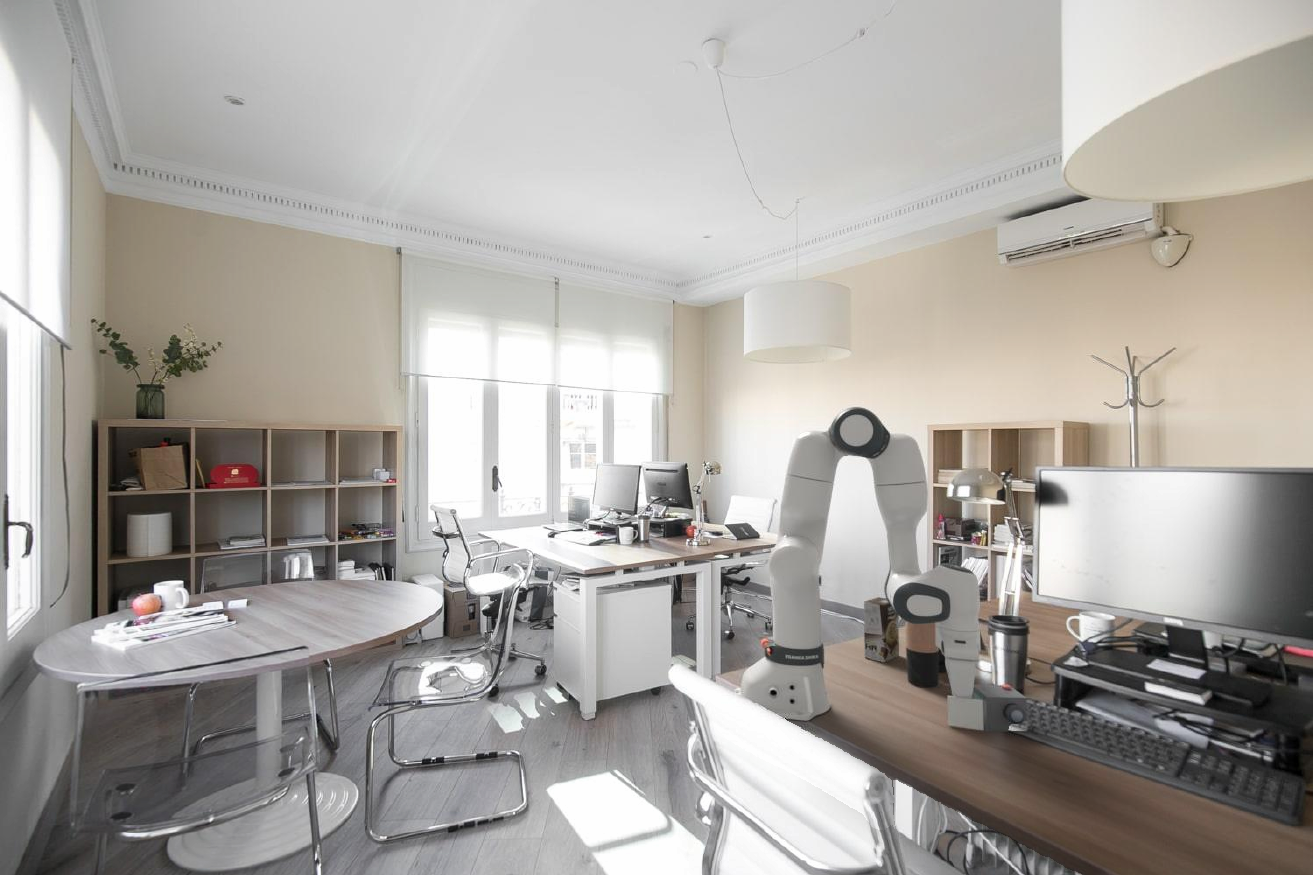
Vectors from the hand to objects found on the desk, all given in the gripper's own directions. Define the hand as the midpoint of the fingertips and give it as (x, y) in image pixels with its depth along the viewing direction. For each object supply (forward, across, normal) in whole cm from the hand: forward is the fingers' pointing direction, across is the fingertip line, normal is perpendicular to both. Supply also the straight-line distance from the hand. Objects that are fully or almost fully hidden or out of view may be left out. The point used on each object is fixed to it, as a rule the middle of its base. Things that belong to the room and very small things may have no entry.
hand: (958, 703), depth 131 cm
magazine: (+4, -32, -3) cm, 32 cm away
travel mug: (+4, -22, -6) cm, 23 cm away
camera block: (+3, -1, +8) cm, 9 cm away
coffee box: (+4, -39, -16) cm, 43 cm away
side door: (+3, +4, +1) cm, 5 cm away
